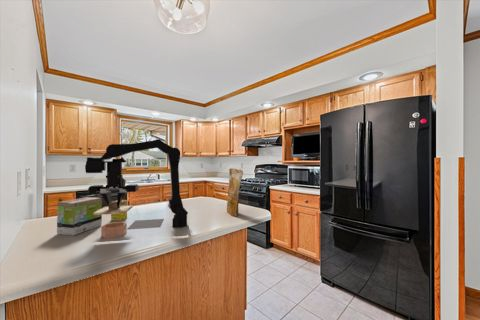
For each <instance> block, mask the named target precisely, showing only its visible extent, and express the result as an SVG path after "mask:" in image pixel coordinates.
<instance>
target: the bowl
mask: <svg viewBox="0 0 480 320" xmlns="http://www.w3.org/2000/svg"><path fill="white" fill-rule="evenodd" d="M127 226H128V224H127V222H125V221H117V222H116V221H114V222H109V223H104V224H103V225H101V226H100V227H101V228H100V229H101V230H100V231H101V234H100V236H101V238H104V239H112V238H118V237H120V236H121V237H122V236H124V235H125V234H126V233H127V231H128V227H127Z"/></svg>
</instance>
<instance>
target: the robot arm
mask: <svg viewBox="0 0 480 320" xmlns="http://www.w3.org/2000/svg"><path fill="white" fill-rule="evenodd" d="M151 149H158V150H159V151H161V152H163V153H165V154H166V157H167V161H168V163H169V164H168V165H169V168H170V169H169V171H170V172H169V174H170V187H171V188H170V189H171V190H170V191H171V192H170V193H171V194H170V197H168V198H167V201H168V204H167V207H168V208H169V210H170V211H171V212H172V213H173V214H174V215H173V218H172V228H184V227H188V213H189V212H188V211H187V210H186V208H184V205H183V201H182V197H181V193H180V191H181V190H180V176H179V175H180V174H179V166H180V165H179V164H180V160H181V151H180V149H179V148H177V147H173V146H171V145H169V144H167V143H166V142H164V141H162V139H154V140H149V141H148V140H147V141H141V142H136V143H134V142H133V143H129V144H127V143H123V144H122V143H120V144H119V143H114V144H113V143H112V144H109V145H108V146H106V149H105V153H103V155H102V156H101V157H92V156H91V157H89V156H88V157H86V162H85V165H84V169H85V170H84V171H85V173H86V174H103V171H104V172H105V171H106V175H105V178H106V185H105V186H104V185H103V184H93V185H90V186H88V188H87V193H88V194H96V193H97V192H99V193H98V195H99V196H102V199H104V201H105V202H106V204H107V207H109V203H110V202H112V191H119V192H118V193H117V195H116V196H117V200H116V201H117V206H118V208H119V207H120V204H121V202H122V200H124V197H125V195H126V194H128V193H134V192H138V191H139V184H138V183H133V184H131V183H130V184H126V182H127V180H126V179H124V177H123V173H122V172H123V171H122V170H123V167H122V166H123V163H127V160H126V159H124V157H122V156H126V155H127V154H128V155H129V154H131V153H135V152H139V151H140V152H141V151H147V150H151ZM119 157H120V158H119ZM111 159H112V160H111ZM105 160H107V161H105ZM110 160H111V161H110Z"/></svg>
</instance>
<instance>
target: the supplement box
mask: <svg viewBox="0 0 480 320" xmlns="http://www.w3.org/2000/svg"><path fill="white" fill-rule="evenodd" d="M120 206H128V200H127V199H122V202H121V204H120ZM110 215H111V216H110V221H123V220H125V219H127V218H128V211H127V212H126V213H124V214H110Z"/></svg>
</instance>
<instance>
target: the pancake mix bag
mask: <svg viewBox="0 0 480 320" xmlns="http://www.w3.org/2000/svg"><path fill="white" fill-rule="evenodd" d="M228 170H229V171H228V172H229V175H228V189H227V190H228V191H227V201H226V202H227V203H226V213H228V214H229V215H230V216H231V217H238V216H239V195H240V187H241V182H242V179H243V176H244V171H243V170H242V169H237V168H229V169H228Z"/></svg>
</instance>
